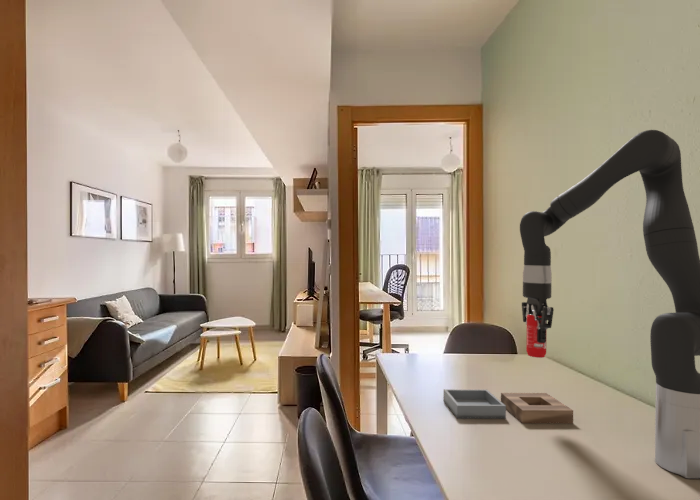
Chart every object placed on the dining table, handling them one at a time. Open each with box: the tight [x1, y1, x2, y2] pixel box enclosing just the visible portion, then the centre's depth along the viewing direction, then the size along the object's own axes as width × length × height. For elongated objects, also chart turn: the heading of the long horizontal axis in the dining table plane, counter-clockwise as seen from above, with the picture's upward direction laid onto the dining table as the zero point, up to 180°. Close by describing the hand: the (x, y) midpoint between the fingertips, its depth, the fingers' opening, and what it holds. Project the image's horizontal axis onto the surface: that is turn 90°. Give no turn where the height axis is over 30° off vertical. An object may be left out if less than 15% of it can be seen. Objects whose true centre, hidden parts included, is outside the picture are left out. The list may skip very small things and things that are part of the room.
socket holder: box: [500, 392, 574, 424], centre depth 117 cm, size 14×14×4 cm
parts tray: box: [442, 388, 507, 420], centre depth 120 cm, size 14×14×4 cm
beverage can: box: [525, 313, 548, 359], centre depth 118 cm, size 5×5×12 cm
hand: (536, 340), depth 118 cm, fingers closed on beverage can, 5 cm apart
